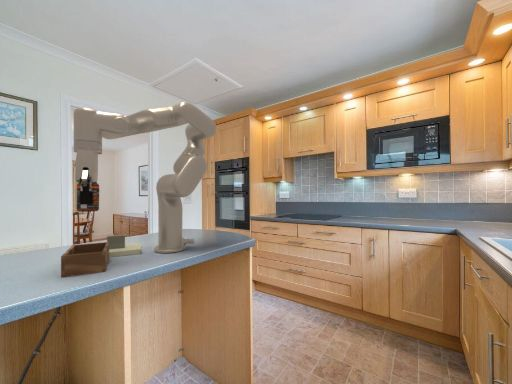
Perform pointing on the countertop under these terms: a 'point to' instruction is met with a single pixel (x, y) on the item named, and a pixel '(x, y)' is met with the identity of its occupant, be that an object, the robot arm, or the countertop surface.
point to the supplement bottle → (95, 199)
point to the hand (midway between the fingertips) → (88, 203)
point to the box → (85, 259)
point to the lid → (122, 246)
